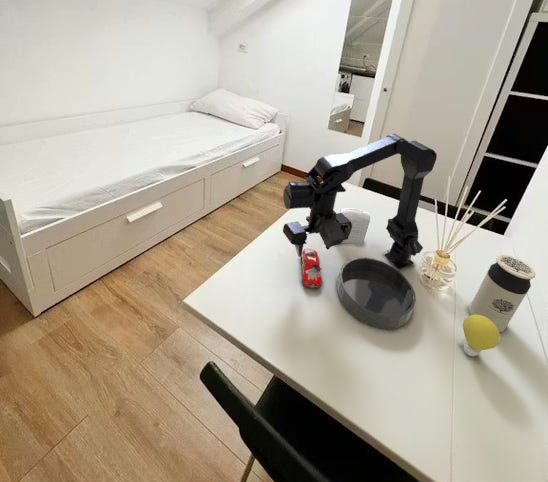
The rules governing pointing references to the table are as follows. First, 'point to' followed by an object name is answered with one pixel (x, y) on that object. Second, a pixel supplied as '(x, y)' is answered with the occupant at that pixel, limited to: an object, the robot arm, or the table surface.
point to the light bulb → (479, 334)
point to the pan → (376, 293)
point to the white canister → (502, 290)
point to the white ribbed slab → (356, 225)
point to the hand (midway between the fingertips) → (313, 252)
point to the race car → (311, 269)
